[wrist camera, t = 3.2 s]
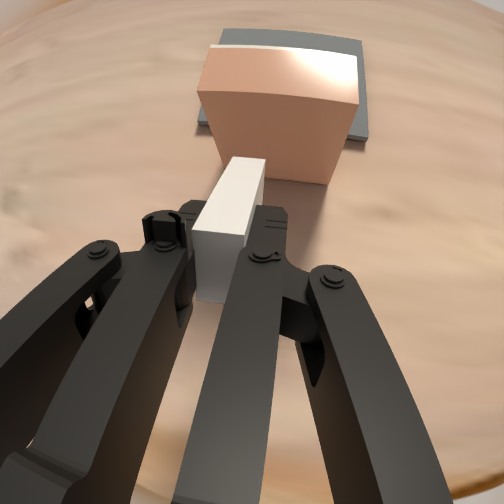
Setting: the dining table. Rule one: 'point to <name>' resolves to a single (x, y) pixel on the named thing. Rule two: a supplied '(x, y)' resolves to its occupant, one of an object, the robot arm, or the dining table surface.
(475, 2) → the dining table surface
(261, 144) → the terracotta block
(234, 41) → the slate mat
